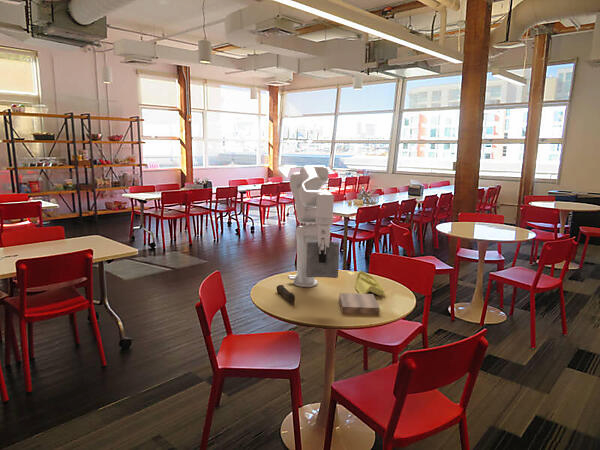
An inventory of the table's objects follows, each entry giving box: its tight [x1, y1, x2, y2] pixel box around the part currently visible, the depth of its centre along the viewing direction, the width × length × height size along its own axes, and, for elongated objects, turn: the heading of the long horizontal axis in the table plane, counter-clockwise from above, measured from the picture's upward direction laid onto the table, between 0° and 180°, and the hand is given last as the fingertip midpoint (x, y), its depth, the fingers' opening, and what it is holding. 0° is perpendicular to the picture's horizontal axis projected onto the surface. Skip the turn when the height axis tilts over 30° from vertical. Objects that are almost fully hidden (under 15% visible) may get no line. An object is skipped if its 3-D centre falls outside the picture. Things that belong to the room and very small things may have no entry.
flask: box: [306, 239, 340, 279], centre depth 184 cm, size 4×14×18 cm, turn 89°
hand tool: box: [276, 284, 296, 306], centre depth 195 cm, size 19×4×5 cm, turn 20°
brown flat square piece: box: [338, 292, 380, 315], centre depth 187 cm, size 16×17×3 cm
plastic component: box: [355, 270, 385, 297], centre depth 210 cm, size 20×7×10 cm
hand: (322, 260), depth 184 cm, fingers closed on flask, 3 cm apart
